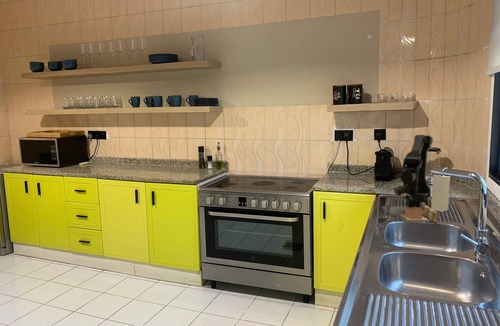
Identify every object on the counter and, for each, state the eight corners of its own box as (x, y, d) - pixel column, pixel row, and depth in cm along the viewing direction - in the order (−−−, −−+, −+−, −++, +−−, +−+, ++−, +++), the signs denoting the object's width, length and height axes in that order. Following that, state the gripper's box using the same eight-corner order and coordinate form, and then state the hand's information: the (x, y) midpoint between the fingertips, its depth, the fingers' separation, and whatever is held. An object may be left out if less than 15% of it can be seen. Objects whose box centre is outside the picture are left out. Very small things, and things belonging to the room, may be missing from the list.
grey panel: (409, 207, 221) (409, 206, 221) (437, 221, 191) (437, 221, 191) (380, 207, 220) (380, 206, 220) (405, 222, 190) (405, 221, 190)
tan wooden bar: (421, 213, 204) (421, 204, 204) (425, 213, 204) (426, 204, 203) (433, 221, 189) (433, 212, 188) (437, 221, 189) (438, 212, 188)
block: (416, 215, 201) (417, 207, 201) (422, 218, 195) (422, 209, 195) (404, 215, 201) (405, 207, 200) (410, 219, 195) (410, 210, 194)
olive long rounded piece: (423, 213, 207) (424, 202, 206) (425, 214, 205) (426, 203, 204) (384, 214, 206) (385, 202, 205) (386, 215, 203) (386, 203, 203)
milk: (448, 210, 212) (451, 170, 209) (440, 212, 209) (443, 170, 206) (437, 208, 218) (440, 168, 215) (430, 209, 215) (433, 169, 212)
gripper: (388, 177, 209) (387, 206, 211) (404, 184, 190) (402, 215, 193) (409, 177, 210) (407, 206, 212) (426, 184, 191) (424, 215, 193)
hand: (409, 210), depth 202 cm, fingers closed
